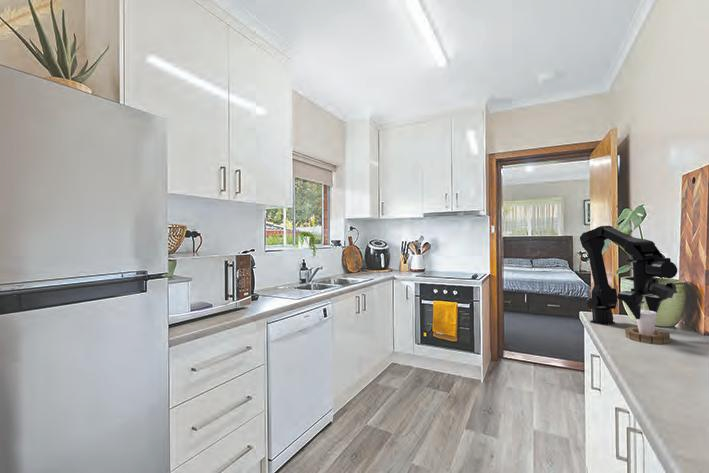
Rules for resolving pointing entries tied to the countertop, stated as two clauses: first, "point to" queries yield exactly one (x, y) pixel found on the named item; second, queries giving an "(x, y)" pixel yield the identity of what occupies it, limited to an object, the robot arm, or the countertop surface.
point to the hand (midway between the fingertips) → (645, 317)
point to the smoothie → (646, 321)
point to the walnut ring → (648, 336)
